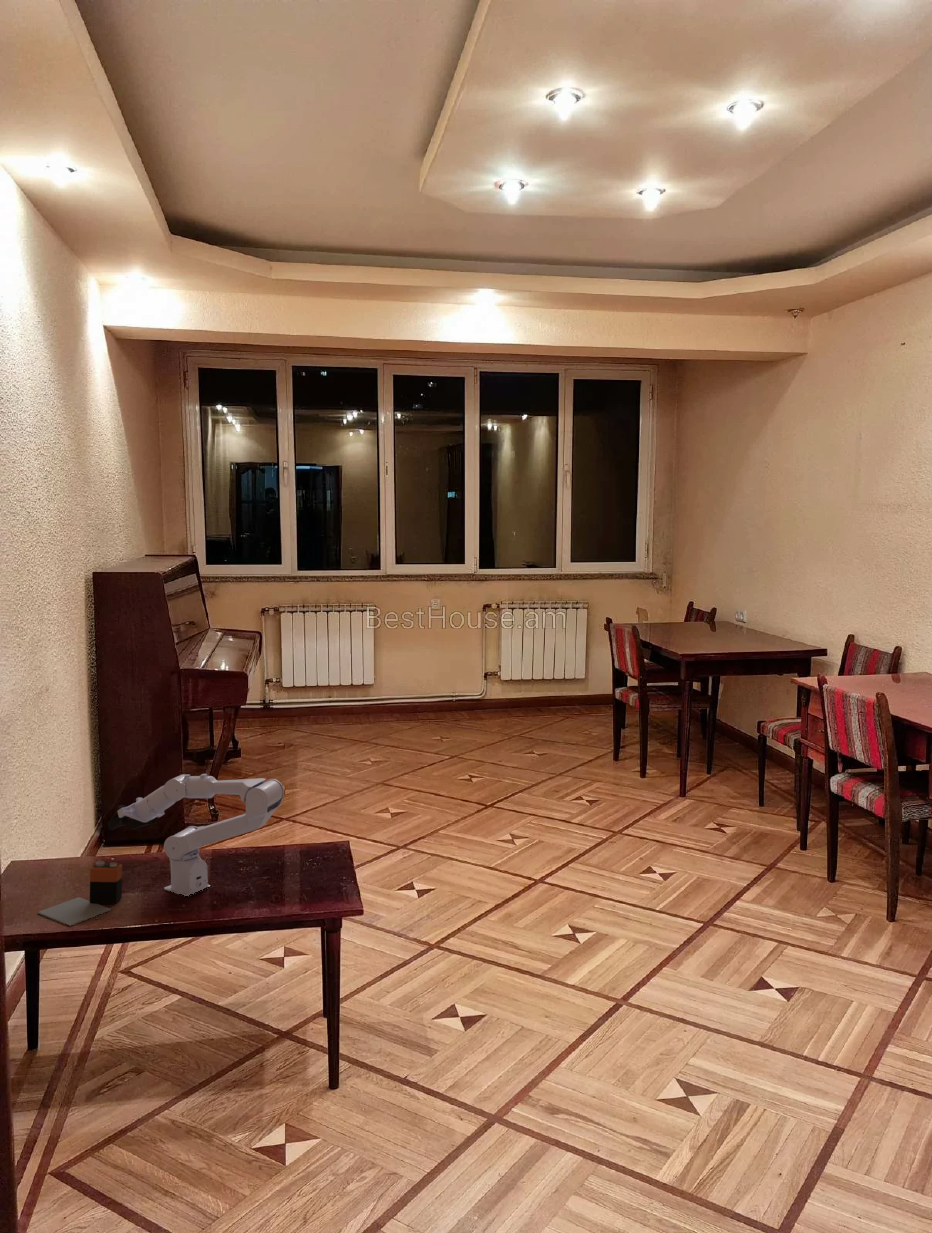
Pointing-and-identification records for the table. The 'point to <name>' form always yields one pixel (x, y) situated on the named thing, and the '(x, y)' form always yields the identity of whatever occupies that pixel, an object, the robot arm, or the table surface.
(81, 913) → the mat
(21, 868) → the table surface
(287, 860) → the table surface
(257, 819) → the robot arm
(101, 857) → the table surface
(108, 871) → the battery
